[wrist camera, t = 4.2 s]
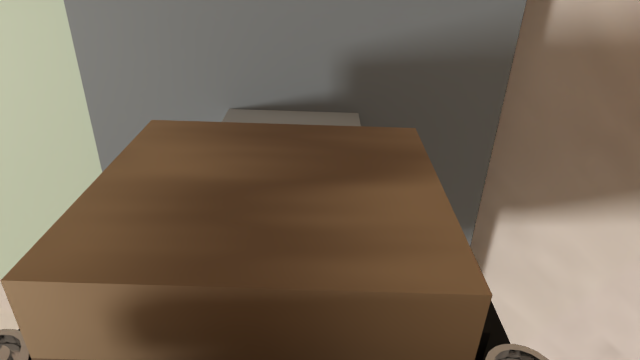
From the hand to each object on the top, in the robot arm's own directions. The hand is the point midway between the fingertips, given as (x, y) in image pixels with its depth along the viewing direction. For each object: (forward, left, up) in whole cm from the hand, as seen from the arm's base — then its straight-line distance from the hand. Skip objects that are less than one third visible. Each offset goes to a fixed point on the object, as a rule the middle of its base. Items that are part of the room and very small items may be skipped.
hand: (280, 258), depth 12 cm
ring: (0, 0, -1) cm, 1 cm away
